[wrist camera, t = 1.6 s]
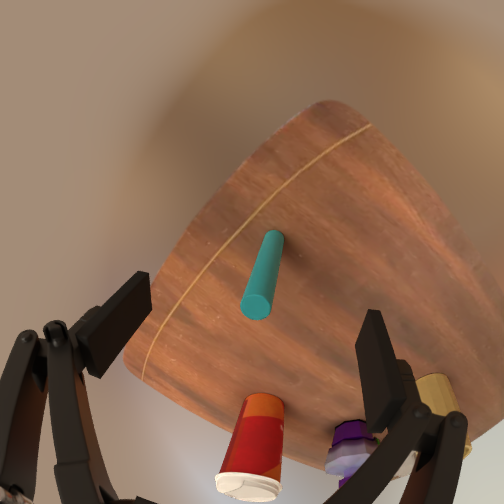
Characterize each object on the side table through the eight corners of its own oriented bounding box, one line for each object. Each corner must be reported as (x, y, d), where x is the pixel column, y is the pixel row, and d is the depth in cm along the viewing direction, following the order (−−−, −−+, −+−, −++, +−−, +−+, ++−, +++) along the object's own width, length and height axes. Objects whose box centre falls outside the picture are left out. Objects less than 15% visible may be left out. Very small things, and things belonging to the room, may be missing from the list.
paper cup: (263, 424, 39) (247, 505, 26) (225, 400, 37) (198, 485, 25) (304, 407, 35) (296, 498, 23) (265, 379, 34) (245, 478, 21)
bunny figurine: (389, 485, 38) (368, 474, 33) (387, 464, 43) (365, 448, 37) (434, 469, 35) (424, 454, 30) (429, 448, 39) (418, 428, 34)
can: (417, 372, 30) (438, 449, 20) (456, 372, 30) (482, 441, 19) (396, 404, 33) (408, 476, 22) (434, 404, 32) (451, 469, 22)
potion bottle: (386, 430, 36) (393, 494, 25) (338, 446, 39) (337, 508, 28) (368, 406, 34) (375, 480, 23) (314, 425, 37) (309, 495, 26)
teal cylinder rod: (265, 228, 26) (241, 292, 16) (285, 231, 26) (272, 297, 16) (263, 246, 27) (238, 317, 17) (282, 249, 27) (268, 322, 17)
